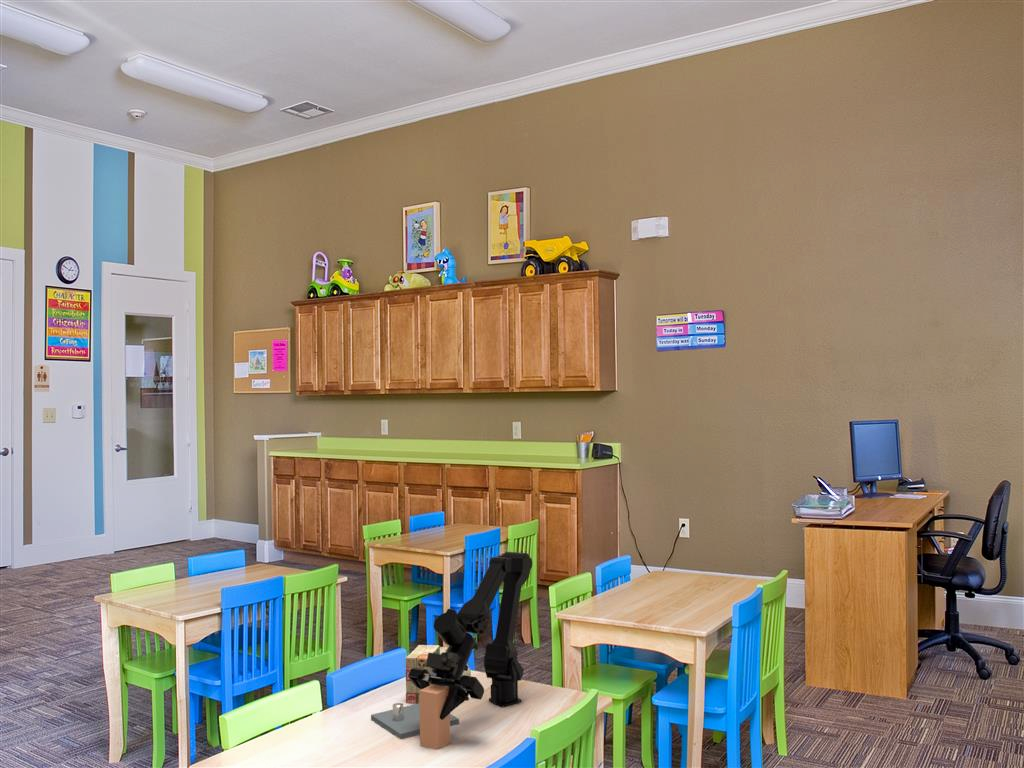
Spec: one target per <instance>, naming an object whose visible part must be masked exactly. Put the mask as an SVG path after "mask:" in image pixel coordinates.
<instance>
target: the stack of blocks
mask: <svg viewBox="0 0 1024 768" xmlns="http://www.w3.org/2000/svg"><path fill="white" fill-rule="evenodd" d="M448 647H449V646H444V647H443V646H440V645H437V644H436V645H434V644H433V645H431V644H429V645H428V644H418V645H417V646H416V647H415V648H414V650H412V651H411V652H410V653H409V654H408V655H407V656H406V657H405V689H406V690H405V703H406V704H408V705H409V704H410V705H413V704H418V703H420V698H419V691H420V690H422V689H419V688H417V687H416V686H415V685H414V684H413V682H412V681H411V680H410V679H409V678H408V677H407V676H408V674H409V672H410V670H411V669H412V668H414V667H417V668H423V669H426V670H427V671H428V672H429V674H430V675H432V676H436V673H434V672H433V671H432V669H433V668H431V667H426V666H425V665H426V661H427V657H428V653H435V654H441V653H442V652H445V653H446V651H447V649H448ZM438 686H439V685H438Z"/></svg>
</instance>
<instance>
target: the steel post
mask: <svg viewBox="0 0 1024 768" xmlns="http://www.w3.org/2000/svg"><path fill="white" fill-rule="evenodd" d="M403 707H404V703H401V702H395V703H393V704H392V710H393V720H394V721H401V720H403V719H404V713H403Z"/></svg>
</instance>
